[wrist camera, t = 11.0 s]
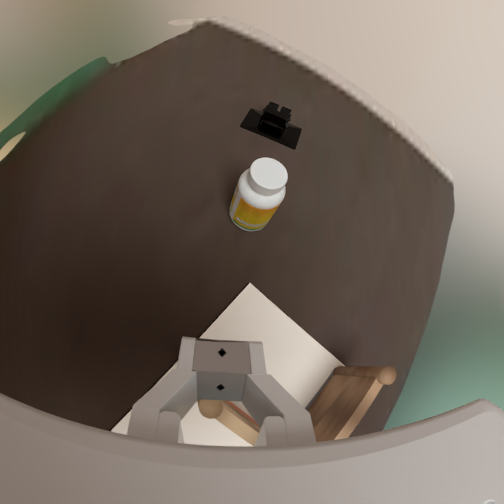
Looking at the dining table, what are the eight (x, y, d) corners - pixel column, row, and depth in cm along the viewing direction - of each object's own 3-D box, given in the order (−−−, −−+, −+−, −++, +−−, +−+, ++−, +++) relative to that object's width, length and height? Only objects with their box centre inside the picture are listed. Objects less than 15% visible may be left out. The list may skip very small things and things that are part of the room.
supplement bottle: (223, 201, 37) (235, 156, 28) (259, 192, 39) (281, 148, 30) (237, 237, 36) (255, 199, 27) (275, 226, 37) (302, 188, 29)
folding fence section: (191, 390, 28) (194, 408, 19) (202, 379, 28) (209, 392, 19) (268, 448, 27) (301, 480, 18) (278, 437, 28) (314, 465, 19)
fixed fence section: (281, 456, 27) (316, 488, 18) (270, 449, 27) (303, 481, 18) (347, 371, 32) (399, 372, 23) (338, 363, 33) (388, 362, 23)
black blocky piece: (309, 131, 46) (319, 114, 42) (300, 159, 43) (310, 141, 39) (243, 104, 45) (248, 85, 41) (227, 129, 42) (232, 109, 38)
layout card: (248, 531, 22) (249, 533, 22) (104, 437, 24) (103, 438, 23) (371, 389, 33) (373, 389, 32) (249, 283, 34) (249, 282, 34)
